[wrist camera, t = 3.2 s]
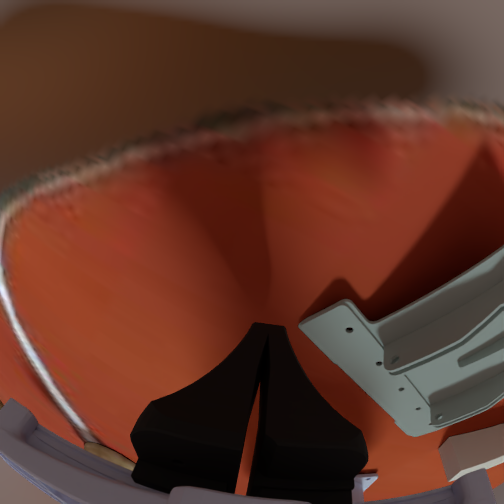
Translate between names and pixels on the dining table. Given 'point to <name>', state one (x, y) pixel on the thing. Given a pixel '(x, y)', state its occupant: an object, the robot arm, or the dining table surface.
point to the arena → (472, 451)
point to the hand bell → (109, 455)
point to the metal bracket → (425, 349)
